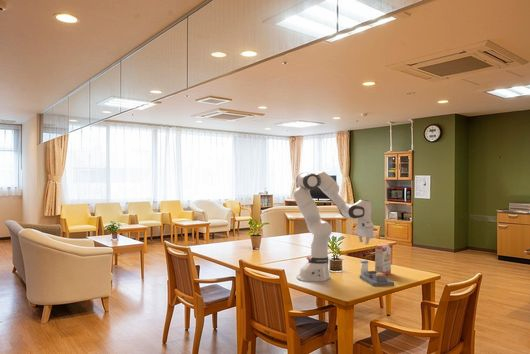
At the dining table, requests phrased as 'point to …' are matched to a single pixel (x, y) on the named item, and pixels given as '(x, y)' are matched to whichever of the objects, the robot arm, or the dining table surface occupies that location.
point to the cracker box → (383, 258)
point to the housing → (375, 279)
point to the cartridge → (364, 266)
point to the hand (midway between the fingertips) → (363, 243)
